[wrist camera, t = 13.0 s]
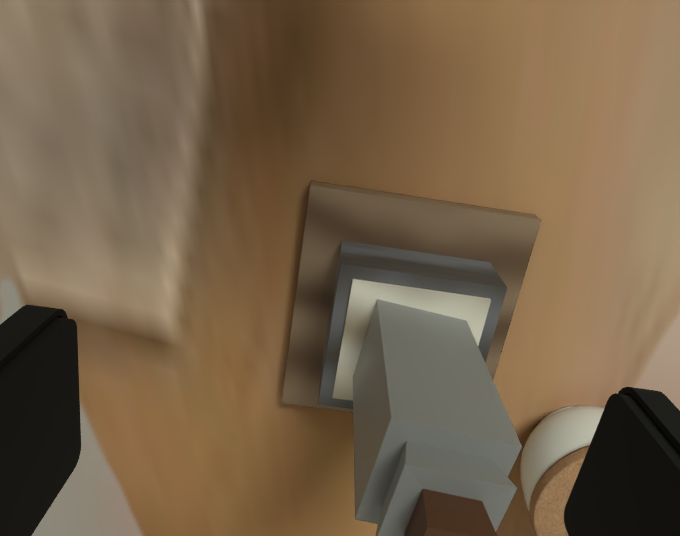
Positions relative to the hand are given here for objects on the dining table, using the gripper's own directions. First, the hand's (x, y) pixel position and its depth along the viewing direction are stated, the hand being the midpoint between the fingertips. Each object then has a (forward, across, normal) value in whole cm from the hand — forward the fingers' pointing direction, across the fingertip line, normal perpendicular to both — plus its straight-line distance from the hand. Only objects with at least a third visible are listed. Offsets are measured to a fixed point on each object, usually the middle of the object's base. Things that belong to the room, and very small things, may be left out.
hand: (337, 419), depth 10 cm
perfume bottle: (+28, -7, +14) cm, 32 cm away
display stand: (+34, -7, +14) cm, 38 cm away
